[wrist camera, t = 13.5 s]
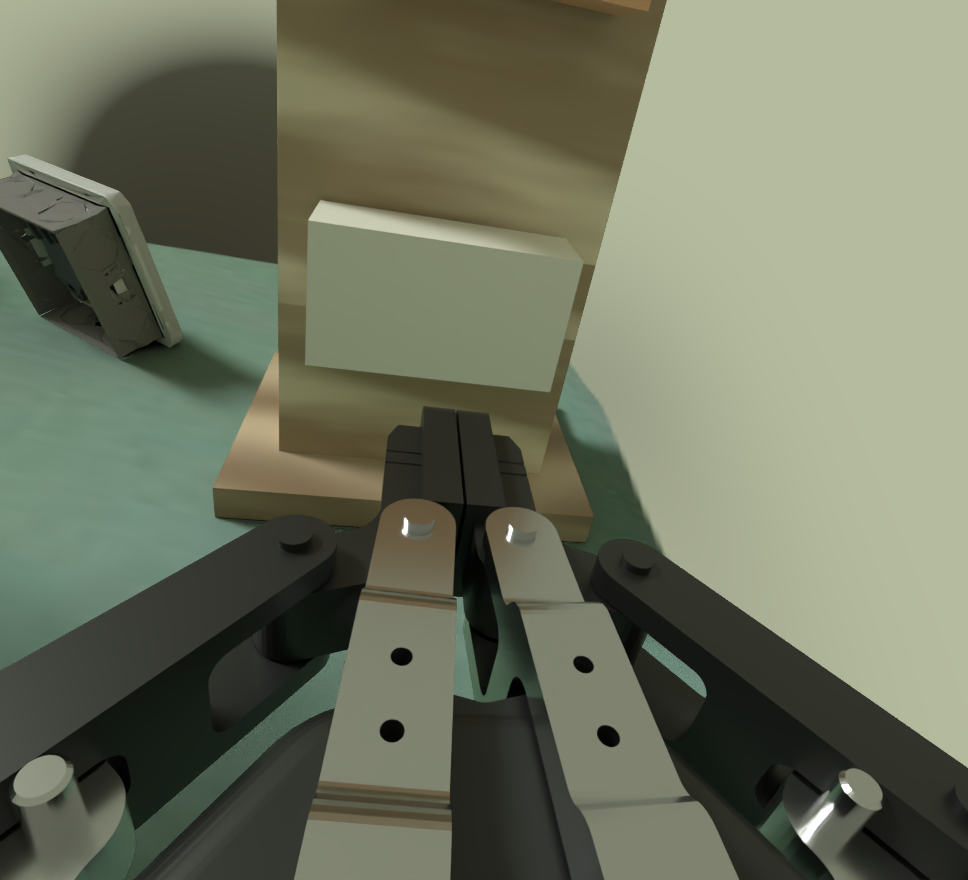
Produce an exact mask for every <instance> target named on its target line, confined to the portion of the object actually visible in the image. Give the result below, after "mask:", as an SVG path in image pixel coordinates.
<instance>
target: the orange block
mask: <svg viewBox="0 0 968 880" xmlns="http://www.w3.org/2000/svg"><path fill="white" fill-rule="evenodd" d="M549 1H554V2H558V3H563V4H567V5H571V6H576V7H580V8H585V9H589V10H594V11H598V12H603V13H607V14H612V15H616V16H622V15H628V14H635V13H642V12H648V11H649V7H650V3H651V0H549Z"/></svg>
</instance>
